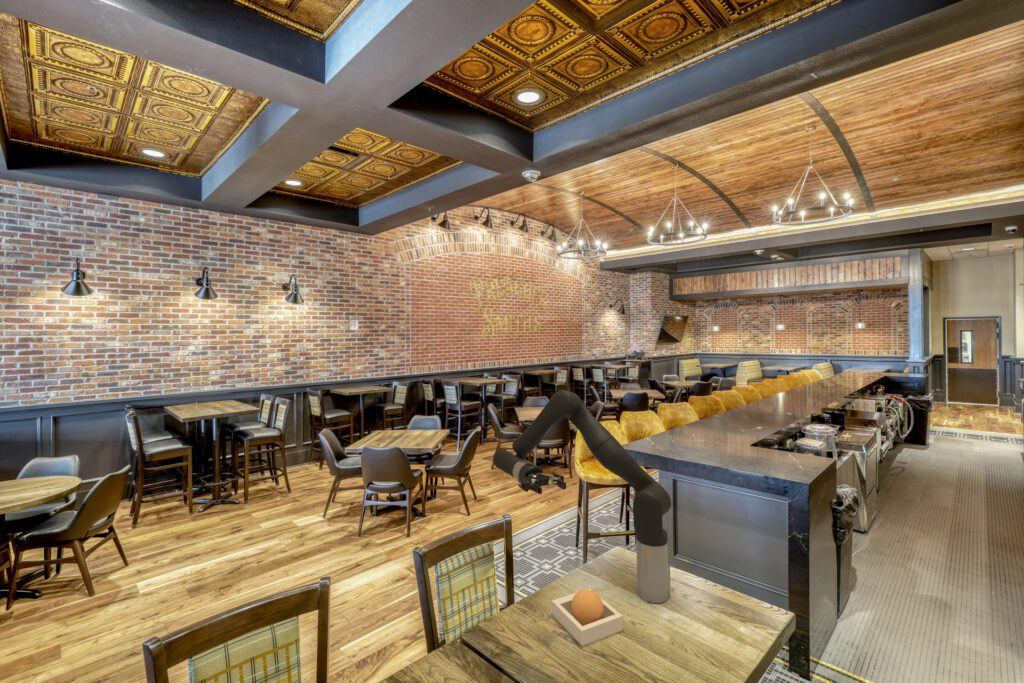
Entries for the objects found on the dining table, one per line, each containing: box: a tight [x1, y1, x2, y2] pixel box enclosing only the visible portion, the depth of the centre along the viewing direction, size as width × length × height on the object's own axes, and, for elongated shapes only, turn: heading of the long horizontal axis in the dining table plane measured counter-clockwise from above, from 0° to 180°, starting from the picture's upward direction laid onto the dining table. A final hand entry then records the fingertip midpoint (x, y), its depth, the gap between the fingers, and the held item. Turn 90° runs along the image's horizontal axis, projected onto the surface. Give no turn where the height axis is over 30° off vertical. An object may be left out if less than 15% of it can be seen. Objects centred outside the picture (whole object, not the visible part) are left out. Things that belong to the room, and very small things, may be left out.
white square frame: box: [551, 588, 624, 647], centre depth 127 cm, size 14×15×4 cm
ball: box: [571, 588, 604, 626], centre depth 126 cm, size 9×9×9 cm
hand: (553, 488), depth 137 cm, fingers open, 8 cm apart
